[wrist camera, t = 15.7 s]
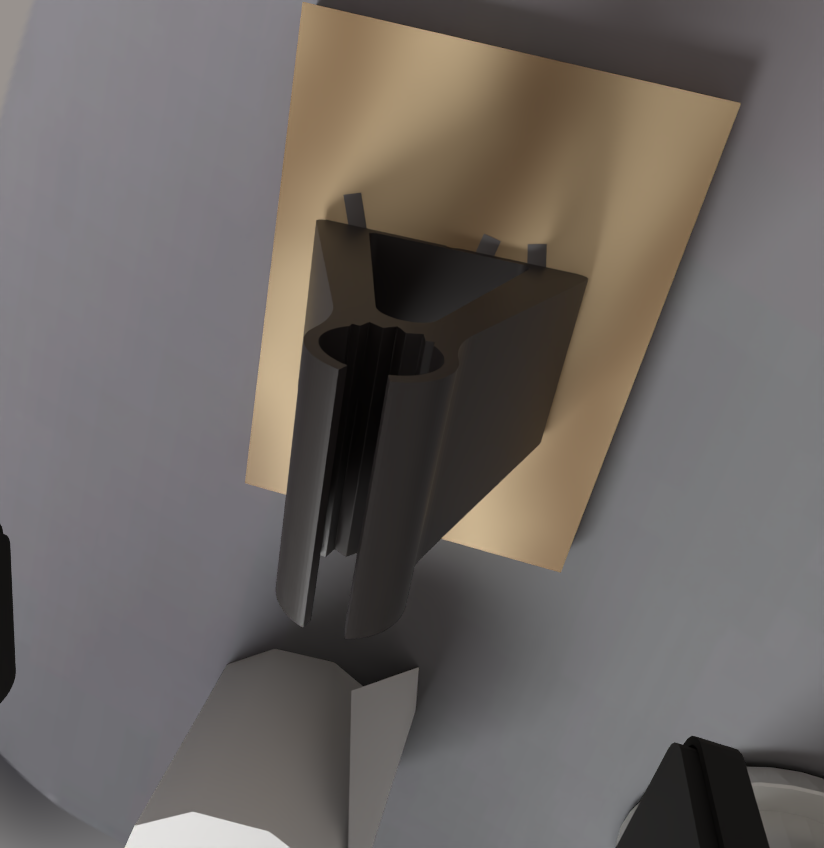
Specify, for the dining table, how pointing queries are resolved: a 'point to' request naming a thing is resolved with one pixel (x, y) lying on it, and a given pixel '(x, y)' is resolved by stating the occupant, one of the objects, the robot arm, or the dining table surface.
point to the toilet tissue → (283, 759)
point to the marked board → (491, 224)
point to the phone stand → (410, 404)
